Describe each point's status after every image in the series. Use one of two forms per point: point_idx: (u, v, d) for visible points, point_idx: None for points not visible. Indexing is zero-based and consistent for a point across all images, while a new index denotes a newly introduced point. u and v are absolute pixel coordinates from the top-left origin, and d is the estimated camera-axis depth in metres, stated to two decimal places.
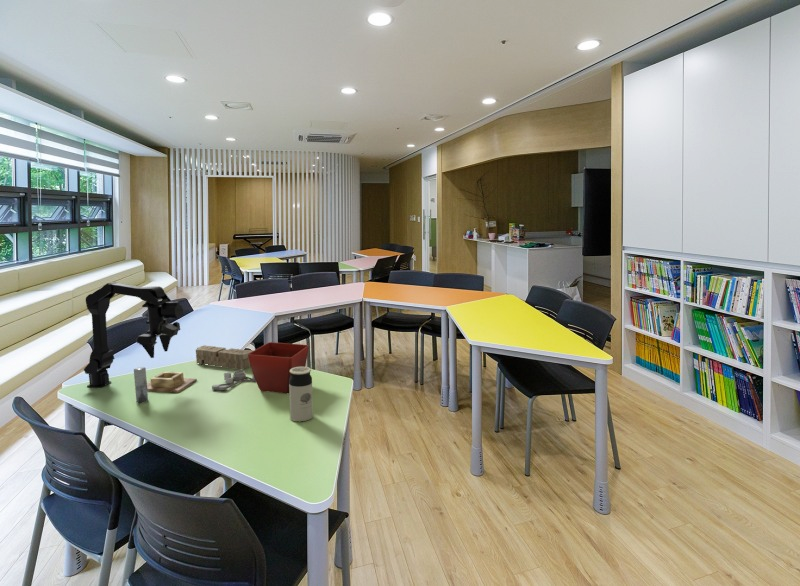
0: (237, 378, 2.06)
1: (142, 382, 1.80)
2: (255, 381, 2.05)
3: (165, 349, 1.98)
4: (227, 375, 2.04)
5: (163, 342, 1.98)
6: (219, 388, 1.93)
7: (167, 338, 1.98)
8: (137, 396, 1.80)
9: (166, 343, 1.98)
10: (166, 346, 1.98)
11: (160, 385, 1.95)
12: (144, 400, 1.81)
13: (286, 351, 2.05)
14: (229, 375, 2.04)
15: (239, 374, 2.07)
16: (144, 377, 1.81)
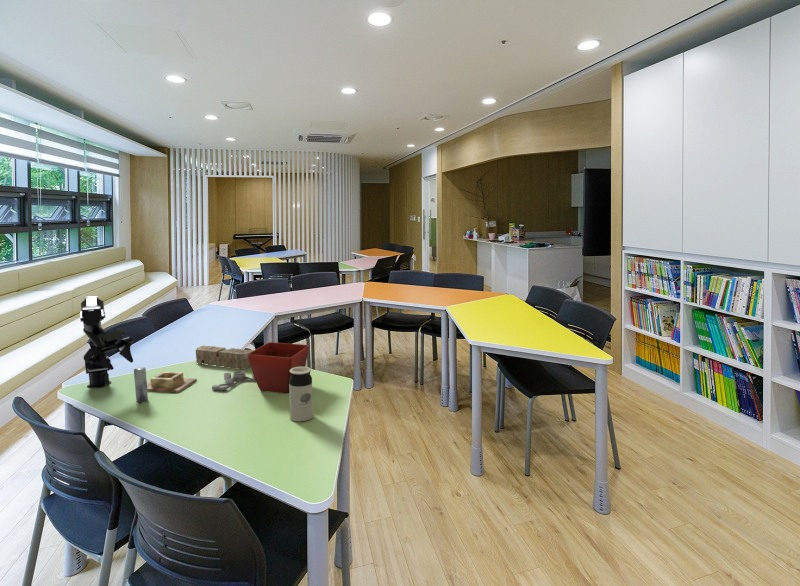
0: (237, 378, 2.06)
1: (142, 382, 1.80)
2: (255, 381, 2.05)
3: (130, 360, 1.87)
4: (227, 375, 2.03)
5: (125, 356, 1.88)
6: (219, 388, 1.93)
7: (125, 349, 1.88)
8: (137, 396, 1.80)
9: (127, 354, 1.87)
10: (129, 357, 1.87)
11: (160, 385, 1.95)
12: (144, 400, 1.81)
13: (286, 351, 2.05)
14: (229, 375, 2.04)
15: (239, 374, 2.06)
16: (144, 377, 1.81)
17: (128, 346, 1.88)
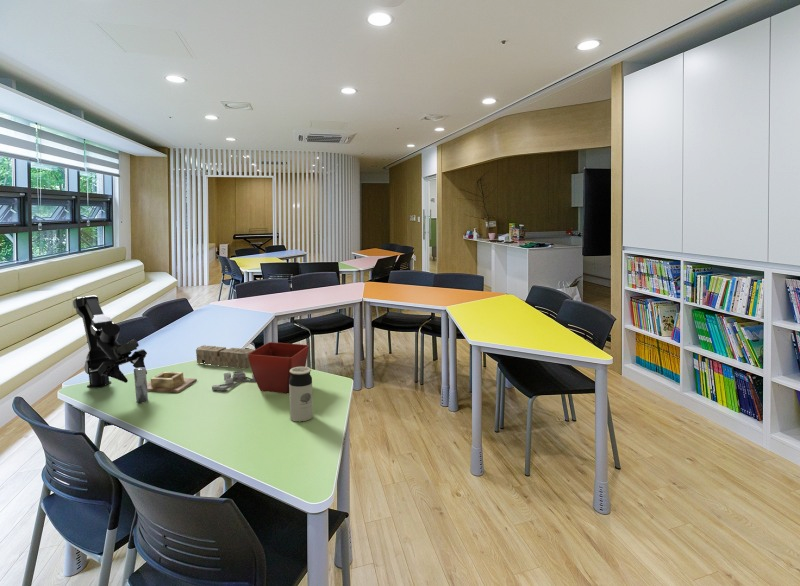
0: (237, 378, 2.06)
1: (142, 382, 1.80)
2: (255, 381, 2.05)
3: None
4: (227, 375, 2.03)
5: None
6: (219, 388, 1.93)
7: (139, 362, 1.86)
8: (137, 396, 1.80)
9: None
10: None
11: (160, 385, 1.95)
12: (144, 400, 1.81)
13: (286, 351, 2.05)
14: (229, 375, 2.04)
15: (239, 374, 2.06)
16: (144, 377, 1.81)
17: (142, 358, 1.87)
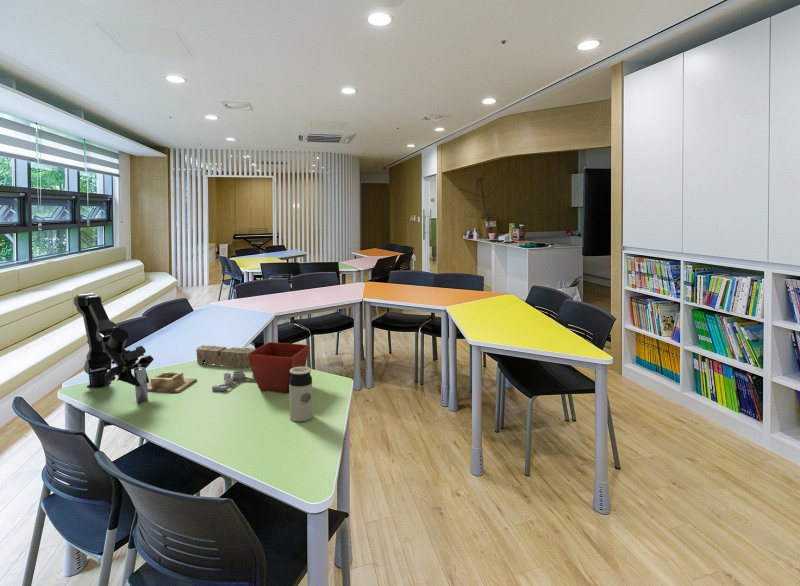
0: (237, 378, 2.06)
1: (142, 382, 1.80)
2: (255, 381, 2.05)
3: None
4: (226, 375, 2.03)
5: None
6: (219, 389, 1.93)
7: None
8: (137, 396, 1.80)
9: None
10: None
11: (160, 385, 1.95)
12: (144, 400, 1.81)
13: (286, 351, 2.05)
14: (229, 376, 2.03)
15: (239, 374, 2.06)
16: (144, 377, 1.81)
17: (144, 366, 1.84)
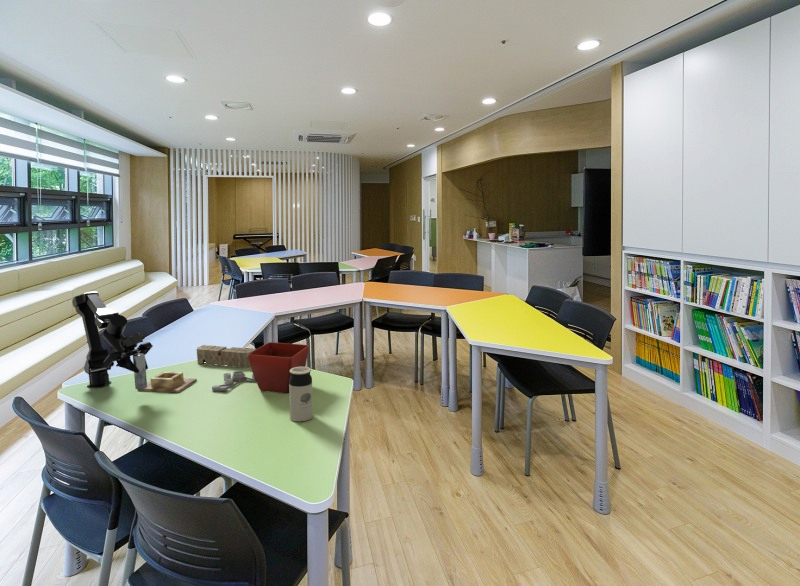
0: (237, 379, 2.06)
1: (141, 368, 1.79)
2: (255, 381, 2.04)
3: None
4: (226, 375, 2.03)
5: None
6: (219, 389, 1.93)
7: None
8: (136, 382, 1.79)
9: None
10: None
11: (160, 385, 1.95)
12: (143, 386, 1.80)
13: (286, 351, 2.05)
14: (229, 376, 2.03)
15: (239, 375, 2.06)
16: (143, 363, 1.80)
17: (143, 353, 1.83)
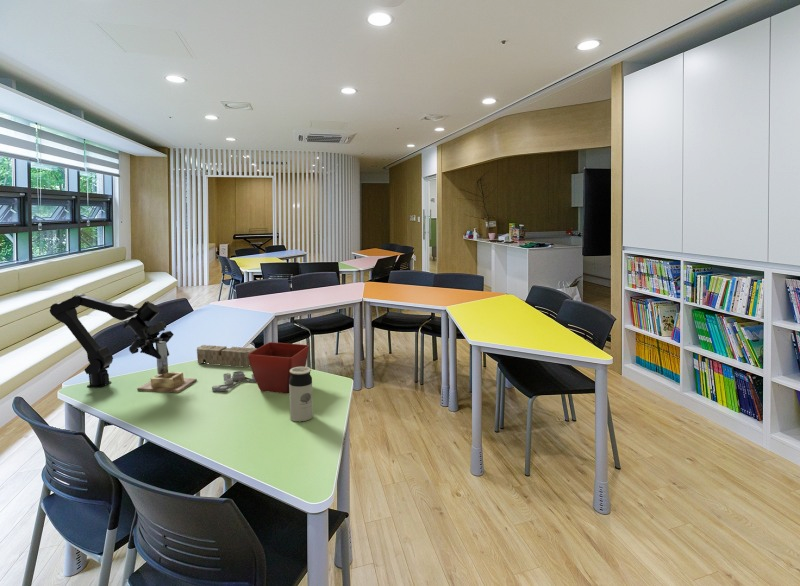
0: (237, 379, 2.05)
1: (163, 355, 1.93)
2: (255, 381, 2.04)
3: None
4: (226, 375, 2.03)
5: None
6: (219, 389, 1.92)
7: None
8: (158, 368, 1.93)
9: None
10: None
11: (160, 385, 1.95)
12: (165, 372, 1.94)
13: (286, 351, 2.05)
14: (229, 376, 2.03)
15: (239, 375, 2.06)
16: (165, 350, 1.93)
17: (164, 340, 1.97)
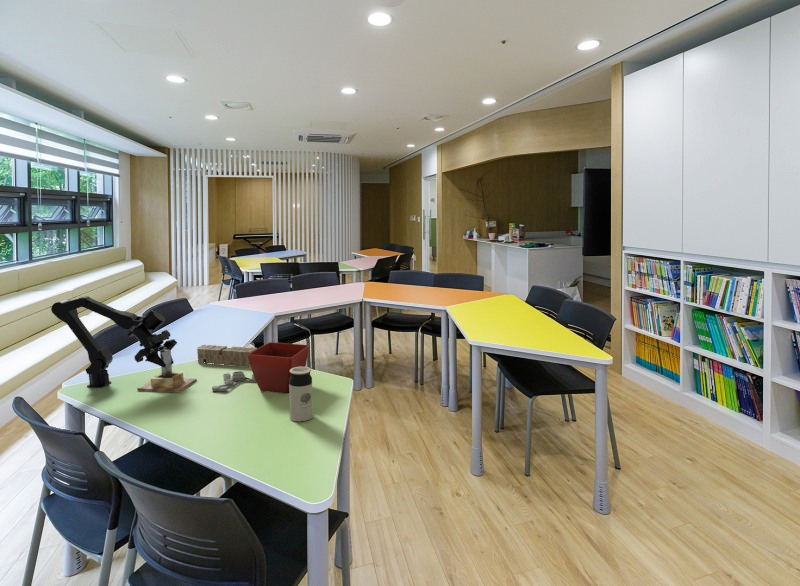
0: (236, 379, 2.05)
1: (168, 363, 1.96)
2: None
3: (171, 362, 1.99)
4: (226, 376, 2.02)
5: None
6: (219, 389, 1.92)
7: None
8: (163, 376, 1.97)
9: None
10: None
11: (160, 385, 1.95)
12: None
13: (286, 351, 2.05)
14: (228, 376, 2.03)
15: (238, 375, 2.06)
16: (169, 358, 1.97)
17: (168, 349, 2.01)
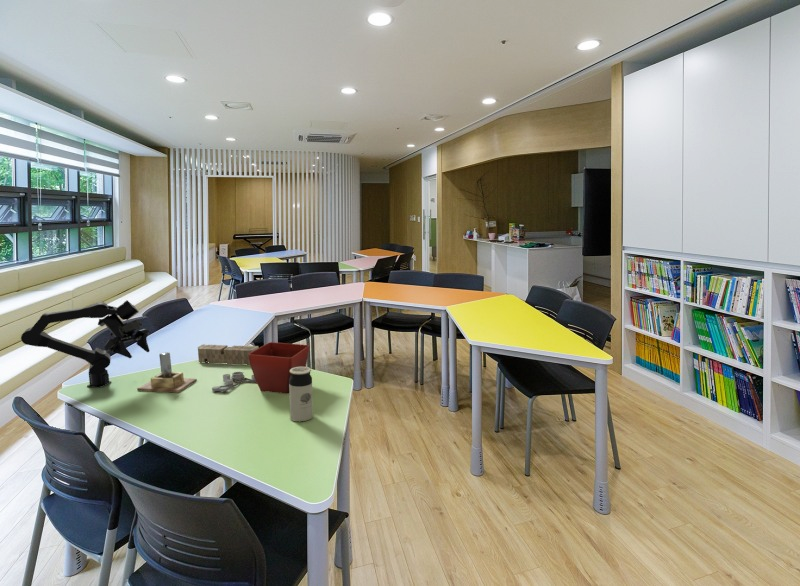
0: (236, 379, 2.05)
1: (167, 366, 1.97)
2: (255, 382, 2.04)
3: (147, 350, 2.01)
4: (226, 376, 2.02)
5: (142, 346, 2.02)
6: (220, 390, 1.91)
7: (142, 340, 2.02)
8: None
9: (144, 344, 2.02)
10: (146, 347, 2.01)
11: (160, 385, 1.95)
12: None
13: (287, 351, 2.05)
14: (228, 376, 2.02)
15: (238, 375, 2.05)
16: (169, 361, 1.97)
17: (145, 337, 2.02)
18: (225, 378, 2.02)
